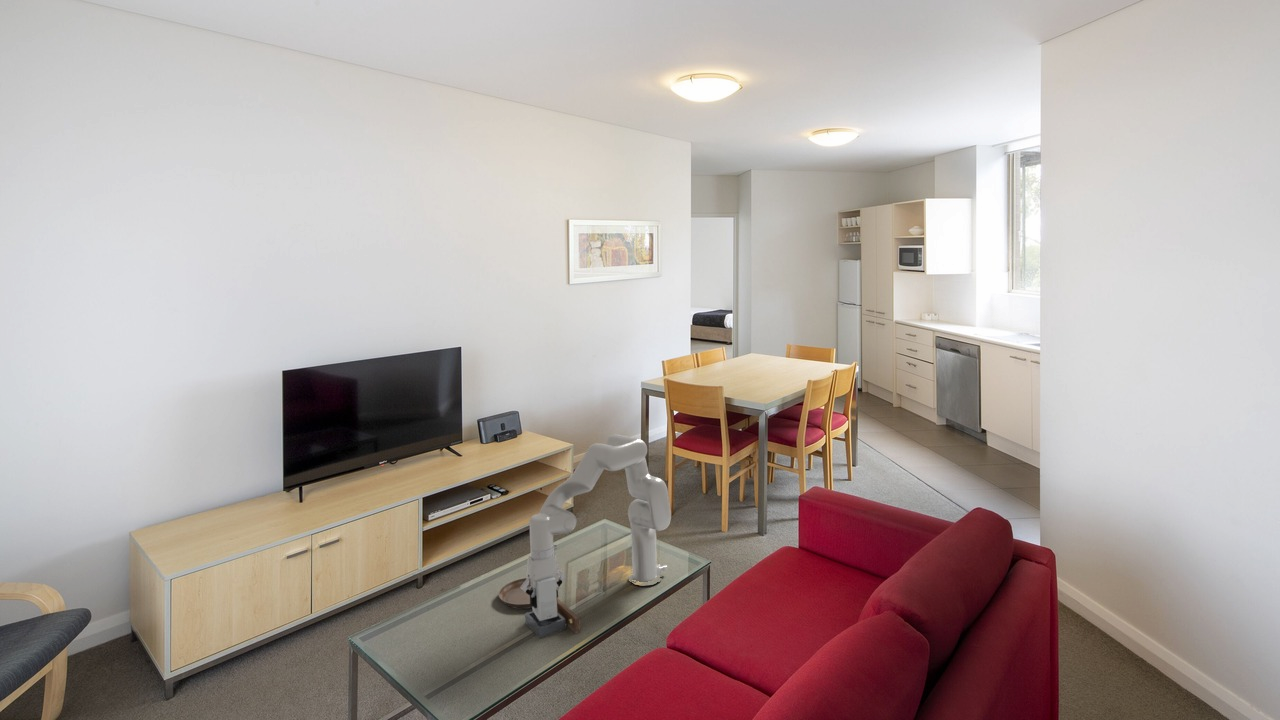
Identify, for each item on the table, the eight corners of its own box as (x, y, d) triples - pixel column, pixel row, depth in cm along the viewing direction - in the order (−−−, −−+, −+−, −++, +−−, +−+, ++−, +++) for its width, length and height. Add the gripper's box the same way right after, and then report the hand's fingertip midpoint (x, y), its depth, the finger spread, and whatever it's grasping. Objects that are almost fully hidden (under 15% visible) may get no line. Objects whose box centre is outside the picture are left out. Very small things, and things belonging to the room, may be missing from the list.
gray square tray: (551, 615, 220) (550, 605, 220) (566, 629, 211) (565, 619, 210) (525, 623, 215) (524, 613, 215) (539, 638, 206) (539, 628, 205)
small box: (557, 616, 210) (556, 579, 209) (539, 621, 208) (537, 583, 206) (550, 606, 218) (548, 569, 216) (532, 610, 215) (530, 573, 213)
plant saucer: (500, 616, 221) (500, 607, 221) (497, 590, 241) (497, 581, 241) (559, 607, 226) (559, 598, 226) (552, 582, 246) (551, 573, 246)
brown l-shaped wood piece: (554, 607, 226) (553, 580, 225) (580, 631, 209) (579, 602, 208) (546, 609, 224) (545, 582, 223) (572, 634, 207) (571, 605, 206)
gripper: (560, 542, 218) (562, 592, 220) (513, 554, 209) (515, 606, 211) (570, 549, 212) (572, 600, 214) (522, 562, 202) (524, 615, 204)
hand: (544, 603), depth 212 cm, fingers closed on small box, 6 cm apart
